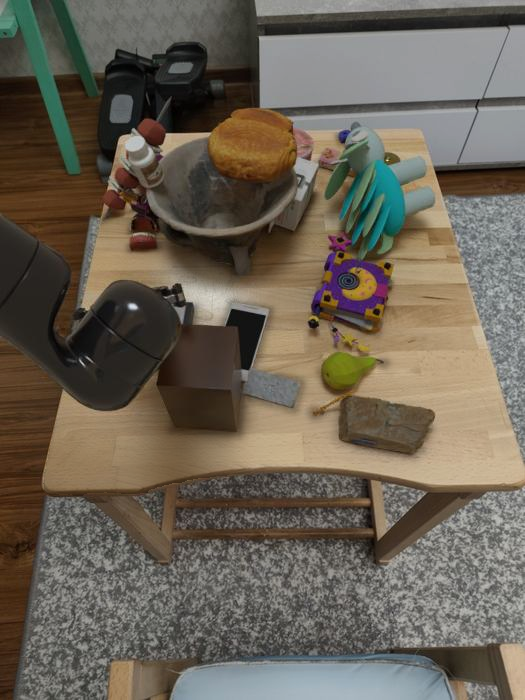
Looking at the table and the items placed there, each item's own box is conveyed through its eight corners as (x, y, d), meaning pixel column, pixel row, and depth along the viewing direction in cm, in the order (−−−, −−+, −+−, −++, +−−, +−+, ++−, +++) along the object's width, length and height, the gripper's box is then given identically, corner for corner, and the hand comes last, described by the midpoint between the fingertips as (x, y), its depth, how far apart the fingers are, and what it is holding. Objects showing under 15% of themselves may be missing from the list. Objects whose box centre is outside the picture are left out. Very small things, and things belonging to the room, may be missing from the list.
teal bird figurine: (422, 92, 85) (337, 113, 80) (454, 232, 90) (377, 261, 85) (378, 120, 98) (303, 140, 93) (409, 242, 103) (339, 266, 98)
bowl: (223, 176, 107) (218, 113, 94) (319, 231, 98) (327, 169, 85) (133, 245, 96) (113, 184, 83) (231, 313, 87) (226, 257, 74)
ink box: (312, 195, 104) (289, 242, 97) (291, 188, 104) (267, 234, 97) (320, 163, 96) (296, 212, 89) (297, 155, 97) (272, 203, 90)
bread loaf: (197, 148, 76) (199, 185, 83) (293, 169, 75) (287, 204, 82) (219, 89, 82) (220, 128, 89) (308, 108, 81) (301, 146, 89)
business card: (300, 381, 80) (301, 380, 80) (293, 408, 77) (293, 406, 77) (249, 368, 81) (249, 367, 81) (240, 394, 79) (240, 393, 78)
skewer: (105, 224, 104) (175, 97, 93) (114, 236, 102) (187, 108, 91) (84, 217, 100) (155, 83, 89) (93, 230, 98) (167, 95, 87)
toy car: (139, 193, 88) (132, 217, 89) (178, 205, 99) (171, 226, 100) (117, 183, 90) (110, 207, 91) (157, 196, 101) (151, 217, 102)
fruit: (314, 350, 78) (370, 334, 83) (313, 383, 80) (368, 365, 86) (339, 366, 73) (397, 347, 78) (337, 400, 75) (393, 380, 81)
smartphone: (207, 375, 81) (207, 372, 80) (232, 304, 89) (232, 301, 88) (248, 384, 80) (248, 381, 80) (269, 311, 88) (269, 308, 87)
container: (309, 191, 104) (312, 160, 97) (261, 188, 104) (261, 157, 98) (311, 160, 109) (315, 128, 102) (266, 157, 110) (266, 125, 103)
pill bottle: (155, 191, 82) (137, 156, 75) (135, 185, 83) (116, 149, 77) (169, 173, 83) (153, 136, 76) (149, 167, 85) (131, 130, 78)
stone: (428, 420, 76) (437, 404, 72) (427, 459, 73) (437, 445, 68) (339, 404, 78) (343, 388, 74) (334, 441, 75) (338, 426, 70)
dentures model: (124, 238, 91) (128, 209, 96) (129, 253, 95) (132, 225, 99) (154, 237, 92) (156, 208, 96) (157, 253, 95) (159, 224, 100)
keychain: (315, 414, 77) (315, 418, 77) (311, 409, 77) (311, 413, 76) (356, 391, 74) (356, 395, 73) (352, 386, 74) (352, 390, 73)
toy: (318, 158, 107) (326, 145, 109) (317, 165, 108) (325, 153, 111) (370, 174, 104) (377, 160, 106) (368, 181, 106) (375, 168, 108)
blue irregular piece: (334, 137, 114) (335, 127, 112) (348, 129, 115) (349, 119, 113) (362, 157, 110) (364, 147, 108) (376, 148, 112) (379, 138, 109)
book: (294, 337, 84) (299, 295, 74) (329, 238, 97) (336, 190, 86) (376, 359, 82) (392, 318, 72) (400, 255, 94) (417, 207, 84)
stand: (174, 428, 76) (155, 385, 63) (183, 373, 81) (168, 323, 68) (236, 431, 76) (231, 389, 63) (242, 376, 81) (237, 326, 68)
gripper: (181, 268, 54) (174, 263, 69) (52, 300, 52) (74, 288, 67) (198, 331, 56) (187, 313, 71) (75, 365, 54) (91, 338, 69)
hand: (133, 301), depth 69 cm, fingers open, 8 cm apart
